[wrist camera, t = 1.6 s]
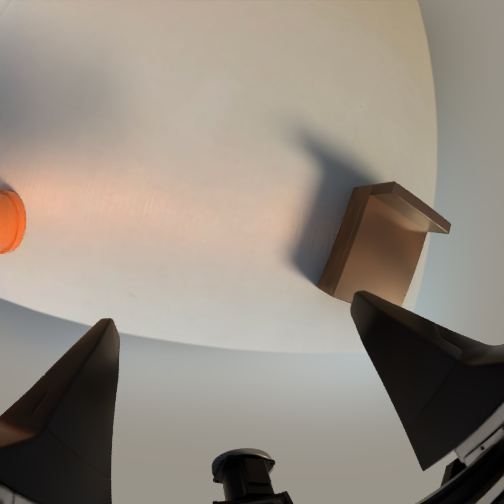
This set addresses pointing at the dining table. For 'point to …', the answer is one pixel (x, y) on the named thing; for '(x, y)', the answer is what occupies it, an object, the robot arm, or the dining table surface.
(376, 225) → the bookend
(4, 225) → the orange ribbed tumbler
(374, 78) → the dining table surface
